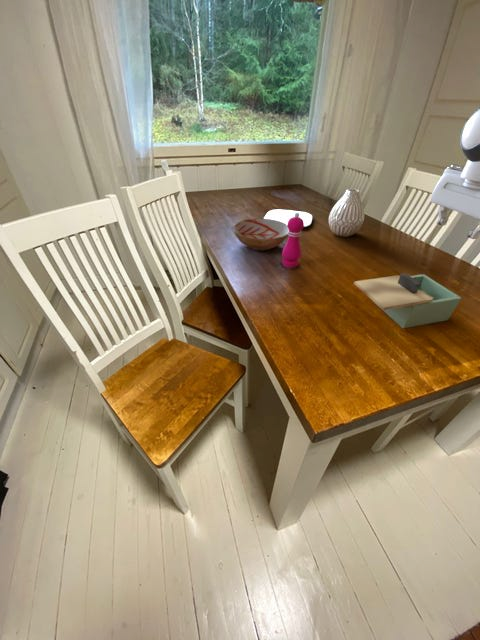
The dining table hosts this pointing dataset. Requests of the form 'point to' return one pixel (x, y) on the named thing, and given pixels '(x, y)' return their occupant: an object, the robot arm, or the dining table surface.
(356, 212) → the vase
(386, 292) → the lid
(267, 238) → the bowl
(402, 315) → the box
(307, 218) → the plate
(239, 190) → the dining table surface
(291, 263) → the pepper mill
